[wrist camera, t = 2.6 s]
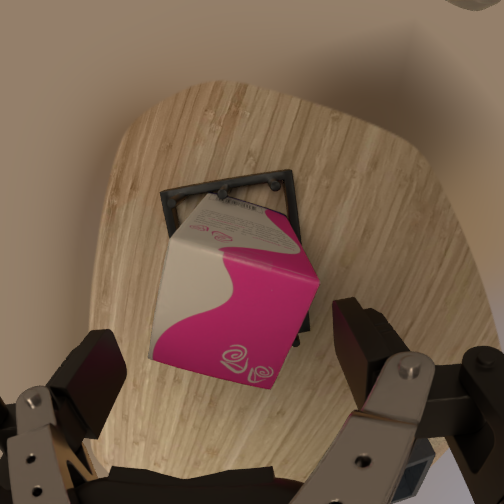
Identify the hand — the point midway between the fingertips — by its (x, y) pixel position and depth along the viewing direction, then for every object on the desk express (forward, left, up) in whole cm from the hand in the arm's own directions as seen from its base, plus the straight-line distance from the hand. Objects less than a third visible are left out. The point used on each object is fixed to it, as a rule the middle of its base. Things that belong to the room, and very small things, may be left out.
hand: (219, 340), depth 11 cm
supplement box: (0, 0, -13) cm, 13 cm away
